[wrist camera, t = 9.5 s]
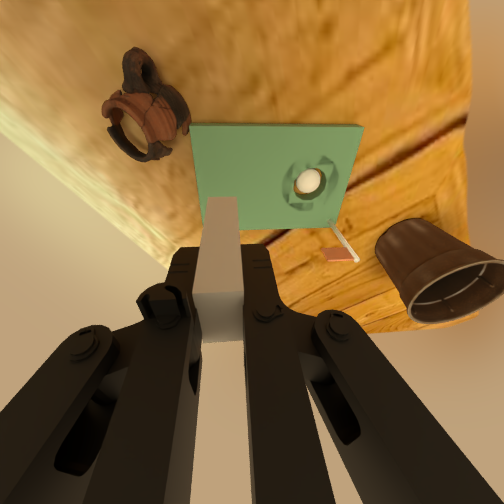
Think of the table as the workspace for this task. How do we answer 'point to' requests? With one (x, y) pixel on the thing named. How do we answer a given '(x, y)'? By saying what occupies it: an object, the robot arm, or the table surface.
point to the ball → (308, 180)
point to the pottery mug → (146, 108)
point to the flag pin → (339, 253)
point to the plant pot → (438, 272)
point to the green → (274, 170)
